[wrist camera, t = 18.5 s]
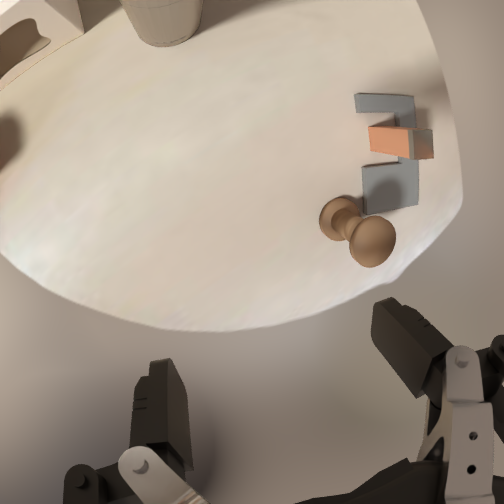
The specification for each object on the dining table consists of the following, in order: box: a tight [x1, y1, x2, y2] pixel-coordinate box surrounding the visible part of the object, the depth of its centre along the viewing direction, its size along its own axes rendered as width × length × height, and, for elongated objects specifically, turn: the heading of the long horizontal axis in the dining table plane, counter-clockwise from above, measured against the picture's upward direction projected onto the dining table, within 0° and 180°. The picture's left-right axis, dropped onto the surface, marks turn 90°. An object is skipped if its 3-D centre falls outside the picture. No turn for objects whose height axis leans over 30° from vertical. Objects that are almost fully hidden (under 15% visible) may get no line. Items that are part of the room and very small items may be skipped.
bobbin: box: [319, 198, 396, 268], centre depth 41 cm, size 7×7×11 cm
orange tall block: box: [368, 126, 434, 160], centre depth 37 cm, size 4×4×11 cm
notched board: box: [354, 94, 419, 215], centre depth 43 cm, size 20×12×1 cm, turn 9°
